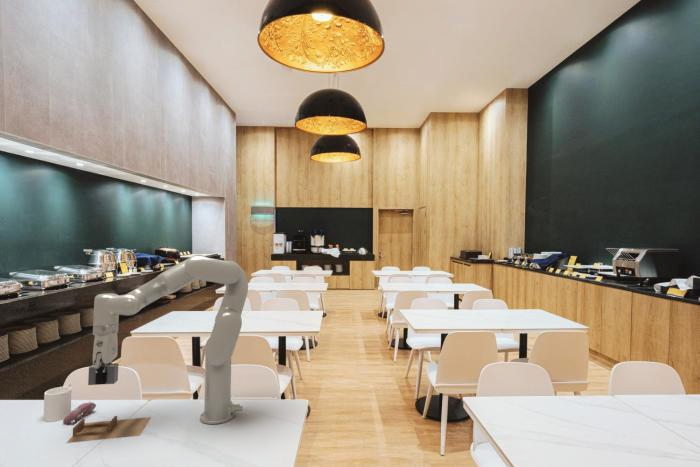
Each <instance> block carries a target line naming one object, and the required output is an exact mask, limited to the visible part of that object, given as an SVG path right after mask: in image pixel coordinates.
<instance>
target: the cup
mask: <svg viewBox="0 0 700 467" xmlns="http://www.w3.org/2000/svg"><path fill="white" fill-rule="evenodd" d="M72 391H73V390H72V384H71V383H70V384H69V383H68V384H66V385H64V386H59V387H53V388H50V389H48V390H46V391H45V392H44V395H43V398H44V399H43V422H46V423H55V422H59V421H63V420H64V418H65V417H66V416H68V415H69V414H70V413H71V412H72Z"/></svg>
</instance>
